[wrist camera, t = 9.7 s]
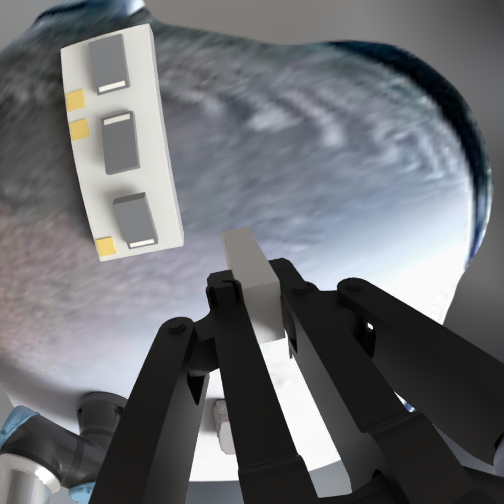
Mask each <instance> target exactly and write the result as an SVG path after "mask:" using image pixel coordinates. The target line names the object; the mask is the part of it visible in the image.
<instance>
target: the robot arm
mask: <svg viewBox="0 0 504 504" xmlns="http://www.w3.org/2000/svg"><path fill="white" fill-rule="evenodd" d="M221 234H222V239H223V245H224V250H225V255H226V261H227V266H228V270H225V271H220V272H215V273H211V274H210V275H209V277H208V278H207V284H208V286H207V287H206V295H207V299H208V303H209V307H210V312H209V314H208V315H207V316H205V317H204V318H203V319H201V320H199V321H196V322H193V321H192V320H191V319H190V318H187V317H175V318H172V319H170V320H167V321H166V322H165V323H163V324H162V325H161V327H160V328H159V330H158V333H157V335H156V337H155V339H154V341H153V344H152V346H151V348H150V350H149V353H148V355H147V357H146V359H145V362H144V364H143V366H142V368H141V371H140V373H139V375H138V378H137V380H136V382H135V385H134V387H133V389H132V392H131V394H130V396H129V399H128V400H127V399H125V398H123V397H120V396H118V395H114V394H110V393H104V392H95V393H90V394H87V395H85V396H83V397H82V398H81V399H80V401H79V404H78V408H77V418H78V425H79V431H80V435H77V434H75V433H73V432H71V431H69V430H67V429H65V428H63V427H61V426H59V425H57V424H56V423H54V422H52V421H50V420H48V419H47V418H45V417H43V416H41V415H40V413H38V412H34V411H32V410H31V409H29V408H27V407H25V406H17V407H15V408H14V410H13V411H12V412H11V414H10V415H9V417H8V418H7V420H6V422H5V423H4V425H3V427H2V430H1V431H0V467H1V469H2V471H3V472H4V473H3V477H2V481H1V485H0V504H49V502H50V495H51V494H53V493H55V492H57V491H59V490H60V487H61V486H63V487H65V488H67V489H69V491H68V492H69V496H70V497H71V499H73V500H75V501H76V502H77V503H80V504H185V499H186V494H187V488H188V483H189V478H190V473H191V468H192V463H193V457H194V452H195V447H196V442H197V437H198V432H199V427H200V422H201V417H202V412H203V407H204V402H205V397H206V392H207V387H208V383H209V378H210V377H209V372H212V371H214V370H216V369H218V368H220V374H221V380H222V386H223V391H224V397H225V402H226V407H227V413H228V418H229V423H230V428H231V433H232V438H233V443H234V448H235V453H236V458H237V462H238V477H239V482H240V487H241V491H242V495H243V500H244V504H504V363H502V362H500V361H499V360H497V359H496V358H494V357H493V356H491V355H489V354H488V353H486V352H485V351H483V350H481V349H480V348H478V347H477V346H475V345H473V344H472V343H470V342H468V341H467V340H465V339H464V338H462V337H460V336H459V335H457V334H455V333H454V332H452V331H451V330H449V329H447V328H446V327H444V326H442V325H441V324H439V323H437V322H436V321H434V320H432V319H431V318H429V317H427V316H426V315H424V314H422V313H421V312H419V311H417V310H416V309H414V308H412V307H411V306H409V305H407V304H406V303H404V302H402V301H400V300H399V299H397V298H395V297H394V296H392V295H390V294H388V293H387V292H385V291H383V290H382V289H380V288H378V287H376V286H375V285H373V284H371V283H369V282H368V281H366V280H363V279H361V278H355V277H353V278H347V279H343V280H342V281H340V282H339V283H338V284H337V290H333V291H320V290H319V289H318V288H317V287H316V285H314V284H313V283H311V282H308V281H304V279H303V278H302V277H301V275H300V274H299V273H298V271H297V270H296V268H295V267H294V266H293V264H292V263H291V262H290V261H289V260H287V259H285V258H279V259H274V260H269V261H268V260H267V259H266V257H265V255H264V254H263V252H262V250H261V248H260V247H259V245H258V243H257V242H256V240H255V238H254V236H253V235H252V233H251V231H250V230H249V228H248V227H244V228H239V229H234V230H229V231H224V232H221ZM368 323H369V324H371V325H372V326H373V330H372V329H370V328H369V327H368ZM284 328H285V329H284ZM285 330H286V332H287V335H288V345H289V355H290V359H291V358H293V357H292V354H293V356H294V358H295V360H296V362H297V364H298V367H299V369H300V371H301V373H302V375H303V377H304V380H305V382H306V384H307V386H308V388H309V390H310V393H311V395H312V397H313V399H314V401H315V404H316V406H317V408H318V410H319V412H320V414H321V417H322V419H323V421H324V423H325V425H326V427H327V430H328V432H329V434H330V436H331V438H332V440H333V442H334V445H335V447H336V449H337V451H338V453H339V455H340V458H341V460H342V462H343V464H344V466H345V468H346V470H347V473H348V475H349V478H350V482H351V489H352V492H353V493H350V494H347V495H340V496H332V497H324V498H318V496H317V493H316V491H315V488H314V485H313V483H312V480H311V478H310V475H309V472H308V470H307V467H306V465H305V462H304V460H303V458H302V457H301V455H299V454H298V453H297V450H296V448H295V445H294V442H293V440H292V437H291V434H290V431H289V429H288V426H287V423H286V420H285V418H284V415H283V412H282V409H281V406H280V404H279V401H278V398H277V395H276V392H275V390H274V387H273V384H272V381H271V378H270V375H269V373H268V370H267V367H266V364H265V361H264V358H263V355H262V352H261V350H260V347H259V344H261V343H266V342H270V341H274V340H278V339H282V338H285ZM395 392H396V393H397V394H398V395H399V396H400V397H401V398H403V399H404V400H405V401H406V402H407V403H409V404H410V405H411V406H412V407H413V408H415V409H416V410H417V411H415V412H409V411H408V410H407V409H406V408H405V406H404V405H403V404H402V402H401V401H400V399H399V398H398V397H397V395H396V394H395ZM432 423H433V424H434V425H435V426H436V427H437V428H439V429H440V430H441V431H442V432H443V433H445V434H446V435H447V436H448V437H449V438H451V439H452V440H453V441H454V442H456V443H457V444H458V445H459V446H460V447H462V448H463V449H464V450H466V451H467V452H469V453H470V454H471V455H472V456H474V457H476V458H478V459H480V460H481V461H483V462H485V463H487V464H490V465H493V466H494V469H493V471H492V474H489V473H486V472H482V471H479V470H475V469H472V468H468V467H465V466H462V465H461V464H460V462H459V461H458V459H457V458H456V457H455V455H454V454H453V452H452V451H451V450H450V448H449V447H448V445H447V444H446V443H445V441H444V440H443V438H442V437H441V436H440V434H439V433H438V431H437V430H436V429H435V427H434V426H433V425H432Z"/></svg>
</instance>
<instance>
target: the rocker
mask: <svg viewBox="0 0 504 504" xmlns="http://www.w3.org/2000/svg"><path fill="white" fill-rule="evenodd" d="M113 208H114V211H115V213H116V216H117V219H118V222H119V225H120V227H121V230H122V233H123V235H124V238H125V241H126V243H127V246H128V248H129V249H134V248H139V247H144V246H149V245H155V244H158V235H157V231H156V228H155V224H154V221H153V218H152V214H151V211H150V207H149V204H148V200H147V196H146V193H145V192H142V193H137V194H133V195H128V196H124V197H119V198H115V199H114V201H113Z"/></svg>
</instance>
